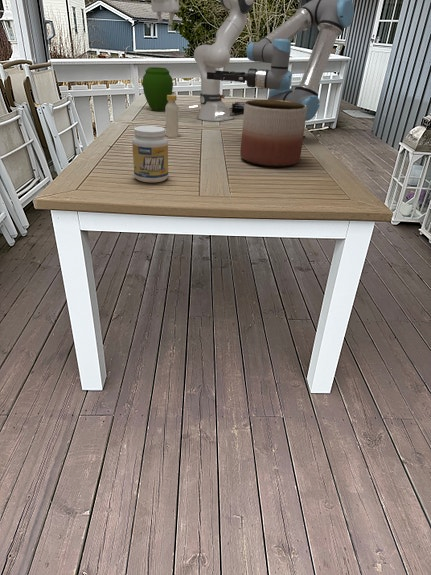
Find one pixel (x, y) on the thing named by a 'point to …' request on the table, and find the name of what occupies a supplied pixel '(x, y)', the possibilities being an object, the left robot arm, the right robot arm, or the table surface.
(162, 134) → the supplement tub
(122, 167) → the table surface
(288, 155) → the planter
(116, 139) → the table surface
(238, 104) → the sign
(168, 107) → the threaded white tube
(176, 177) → the table surface
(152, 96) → the vase
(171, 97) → the cap
